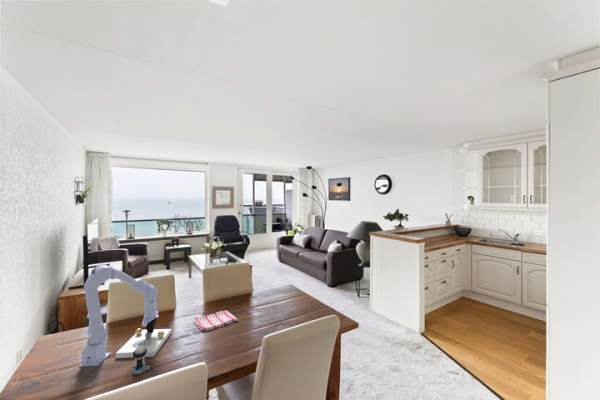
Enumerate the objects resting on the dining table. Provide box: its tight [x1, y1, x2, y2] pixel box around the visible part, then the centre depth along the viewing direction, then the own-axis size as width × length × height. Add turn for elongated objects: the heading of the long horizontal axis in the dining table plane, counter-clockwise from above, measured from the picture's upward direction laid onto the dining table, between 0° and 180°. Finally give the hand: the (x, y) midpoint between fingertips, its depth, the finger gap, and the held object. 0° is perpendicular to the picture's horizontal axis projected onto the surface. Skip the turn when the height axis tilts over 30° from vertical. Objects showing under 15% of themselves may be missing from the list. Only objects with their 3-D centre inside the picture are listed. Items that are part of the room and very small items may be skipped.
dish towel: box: [193, 310, 239, 332], centre depth 160 cm, size 17×23×4 cm
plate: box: [115, 328, 172, 359], centre depth 132 cm, size 22×17×2 cm
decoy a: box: [134, 327, 143, 335], centre depth 137 cm, size 3×3×3 cm
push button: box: [132, 347, 150, 376], centre depth 111 cm, size 7×5×10 cm
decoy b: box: [157, 331, 164, 338], centre depth 135 cm, size 3×3×3 cm
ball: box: [145, 332, 152, 338], centre depth 134 cm, size 3×3×3 cm
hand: (150, 333), depth 136 cm, fingers closed
